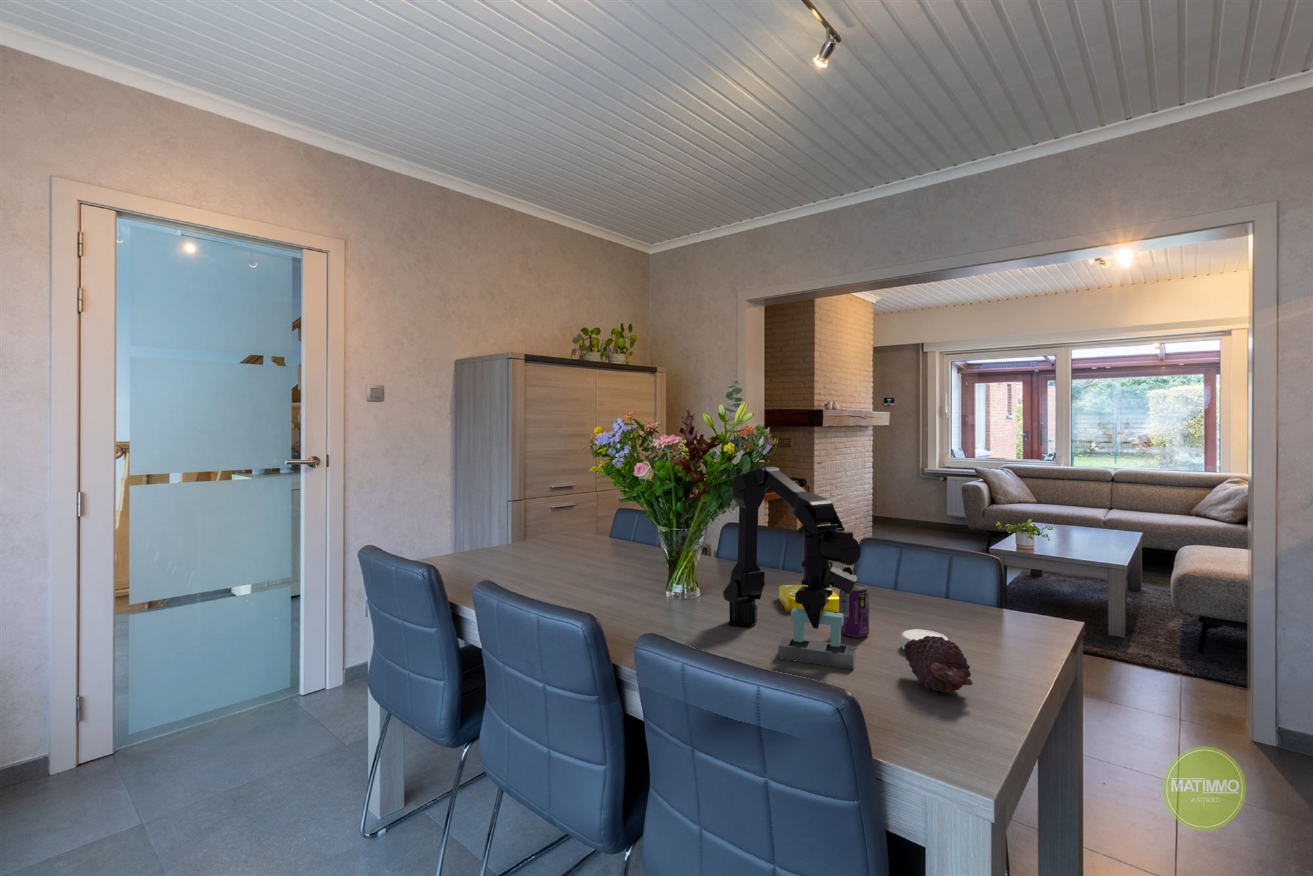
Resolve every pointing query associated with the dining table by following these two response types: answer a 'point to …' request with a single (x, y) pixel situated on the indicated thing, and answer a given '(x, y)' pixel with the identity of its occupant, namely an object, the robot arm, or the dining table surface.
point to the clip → (825, 619)
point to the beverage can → (855, 611)
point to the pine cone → (938, 663)
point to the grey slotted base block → (817, 653)
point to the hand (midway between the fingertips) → (816, 626)
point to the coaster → (918, 635)
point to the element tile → (789, 603)
